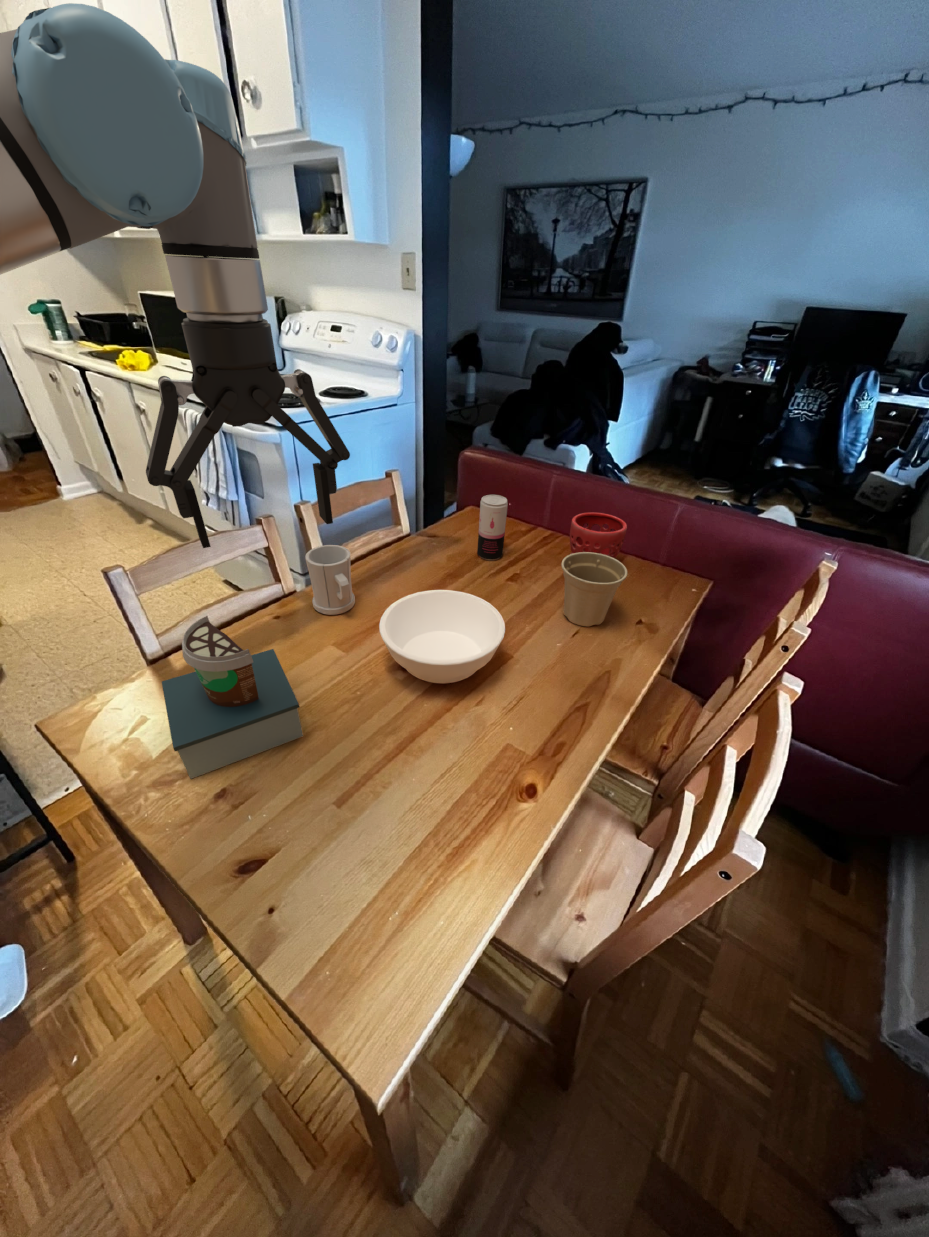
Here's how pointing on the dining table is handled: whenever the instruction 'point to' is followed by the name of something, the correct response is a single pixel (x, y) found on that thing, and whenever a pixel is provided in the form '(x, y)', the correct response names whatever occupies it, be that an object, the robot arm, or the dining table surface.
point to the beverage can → (492, 526)
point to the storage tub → (231, 718)
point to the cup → (330, 579)
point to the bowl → (442, 634)
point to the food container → (220, 665)
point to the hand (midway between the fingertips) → (268, 530)
